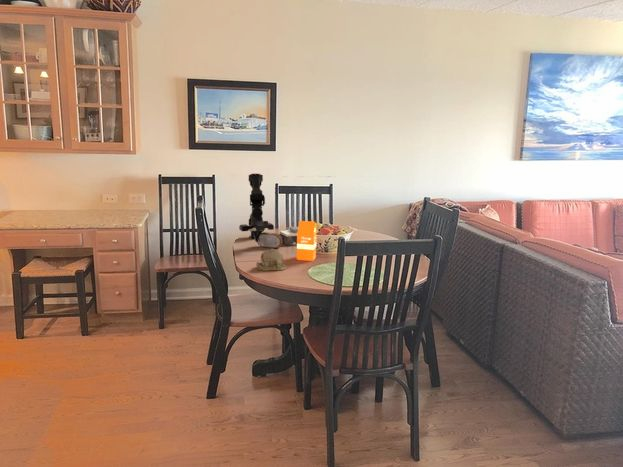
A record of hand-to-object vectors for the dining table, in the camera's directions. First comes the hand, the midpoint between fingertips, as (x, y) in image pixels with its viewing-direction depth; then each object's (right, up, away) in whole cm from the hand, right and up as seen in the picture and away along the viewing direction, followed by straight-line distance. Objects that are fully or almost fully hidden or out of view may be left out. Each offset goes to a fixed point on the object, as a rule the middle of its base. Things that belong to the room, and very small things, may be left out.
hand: (256, 242), depth 263 cm
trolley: (+19, -1, +14) cm, 24 cm away
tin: (+7, -3, +3) cm, 8 cm away
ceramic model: (+12, -12, -36) cm, 39 cm away
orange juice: (+28, -9, -17) cm, 34 cm away
